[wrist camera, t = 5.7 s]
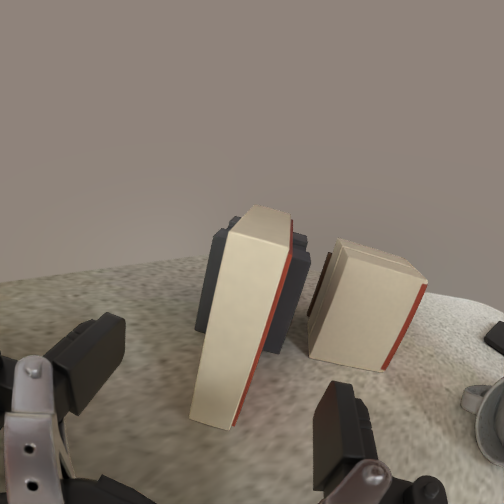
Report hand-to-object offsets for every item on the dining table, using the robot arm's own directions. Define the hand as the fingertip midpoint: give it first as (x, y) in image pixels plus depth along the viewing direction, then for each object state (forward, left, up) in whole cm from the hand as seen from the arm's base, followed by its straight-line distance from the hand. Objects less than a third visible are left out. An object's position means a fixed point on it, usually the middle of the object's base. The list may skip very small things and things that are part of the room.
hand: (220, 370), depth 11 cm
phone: (-43, -26, -7) cm, 50 cm away
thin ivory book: (0, -6, -7) cm, 9 cm away
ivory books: (-10, -16, -7) cm, 20 cm away
